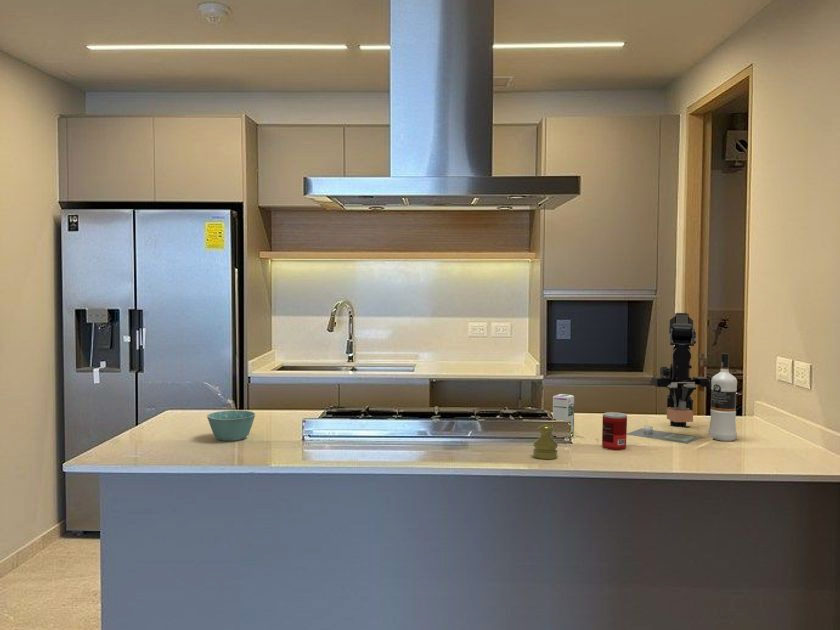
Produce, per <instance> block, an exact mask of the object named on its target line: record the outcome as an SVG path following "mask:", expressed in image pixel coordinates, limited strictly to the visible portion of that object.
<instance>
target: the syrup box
mask: <svg viewBox="0 0 840 630" xmlns="http://www.w3.org/2000/svg"><path fill="white" fill-rule="evenodd" d="M553 419H556V420H563V421H570V422H571V434H572V437H573V436H574V435H575V395H573V394H567V393H559V394H555V395H553V396H552V420H553Z"/></svg>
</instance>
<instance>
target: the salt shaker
mask: <svg viewBox="0 0 840 630" xmlns="http://www.w3.org/2000/svg"><path fill="white" fill-rule="evenodd" d="M537 431H539V432H540V436H539V437H537V439H535V440H534V441H532V446H533V447H534V448H533V450H532V452H533V454H532V455H533V457H534V458H536V459H540V460H554V459H556V458H558V450H557V448H558V446H559V445H558V442H557V441H555V440H554V438H553V437H552V436H551V434H552V433H553V431H554V428H553V426H552V425H551V426H550V425H549V424H542V425H540V426H538V427H537Z"/></svg>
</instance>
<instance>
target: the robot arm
mask: <svg viewBox="0 0 840 630" xmlns="http://www.w3.org/2000/svg"><path fill="white" fill-rule="evenodd" d="M668 330H669V331H668V334H669V341H670V342H669V345H670V346H673V347H672V362H671V363H670V365H669V368H668V367H667V366H660V367H659V368H660V369H659V374H660V376H653V377H652V378H651V380H650V381H651V382H650V385H652V386H654V387H656V388H665V389H668V391H669V393H668V395H667V400H666V401H667V402H666V409H667V408H674V403H675V406H676V407H678V405H679V399H680V400H683V401H685V402H686V408H687V409H690V410H692V411H693V412H694V410H693V407H694V406H693V404H694V400H693V398H692V396H691V395H692V394H693V392H694V390H697V387H696V386H695V385H697V386H698V385H699V386H700V387H703V388H711V380H710V378H709V377H708V378H707V377H704V376H692V377H690V375H691V374H690V373H691V369H692V367H693V366H692V365H691V359H692V354H691V347H694V346H695V344H696V342H697V332H696V331H695V328H694V319H692V318H691V317H690V313H687V312H675V313H674V316H673V317H672V318H670V319H669V328H668ZM669 421H670V423H669V426H671V427H676V428H684V429H688V428H689V429H690V427H691V426H690V425H687V422H673V421H671V420H669Z"/></svg>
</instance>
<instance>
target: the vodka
mask: <svg viewBox="0 0 840 630" xmlns="http://www.w3.org/2000/svg"><path fill="white" fill-rule="evenodd" d="M729 364H730V353H727V352H722V353H720V370H719V371H720V372H718V373H716V374H714V376H712V377H711V380H710V389H711V395H710V396H711V399H710V405H711V406H710V409H709V410H710V421H709V427H708V428H709V429H708V430H707V431H708V433H707V435H708V436H709V437H711V438H712V440H713V439H714V441H718V440H720V442H733V441H735V440H737V438H738V433H737V426H736V425H737V424H736V421H737V420H736V416H737V411H736V410H737V391H738V388H737V386H738V379H737V378H736V376H734V375H733V374H732V373H730V372H729V368H730V365H729Z"/></svg>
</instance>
